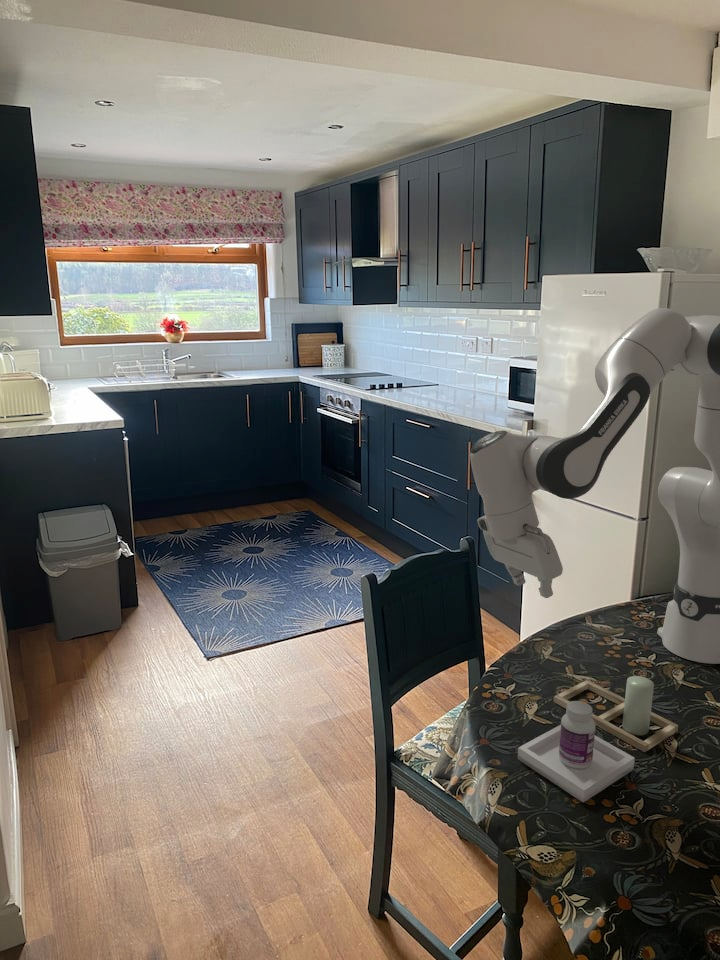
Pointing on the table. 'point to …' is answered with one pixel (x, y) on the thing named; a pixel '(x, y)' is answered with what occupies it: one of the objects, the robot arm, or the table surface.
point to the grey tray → (576, 782)
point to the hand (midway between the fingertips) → (533, 589)
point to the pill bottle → (577, 735)
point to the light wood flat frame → (604, 719)
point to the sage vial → (638, 705)
